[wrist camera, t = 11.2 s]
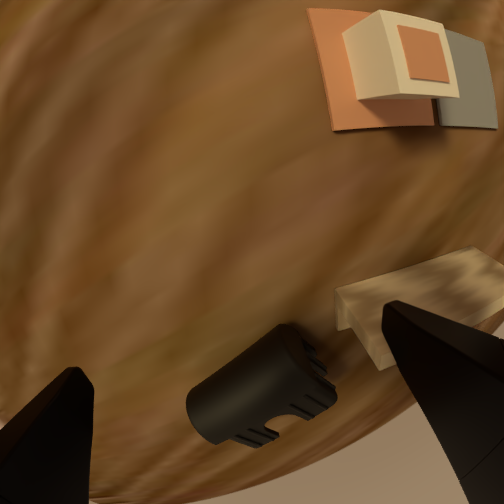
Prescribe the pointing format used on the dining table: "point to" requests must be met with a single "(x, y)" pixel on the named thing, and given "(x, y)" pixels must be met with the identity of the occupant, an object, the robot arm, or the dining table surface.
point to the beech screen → (422, 296)
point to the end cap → (261, 390)
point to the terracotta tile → (342, 85)
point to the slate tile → (469, 86)
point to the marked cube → (400, 58)
